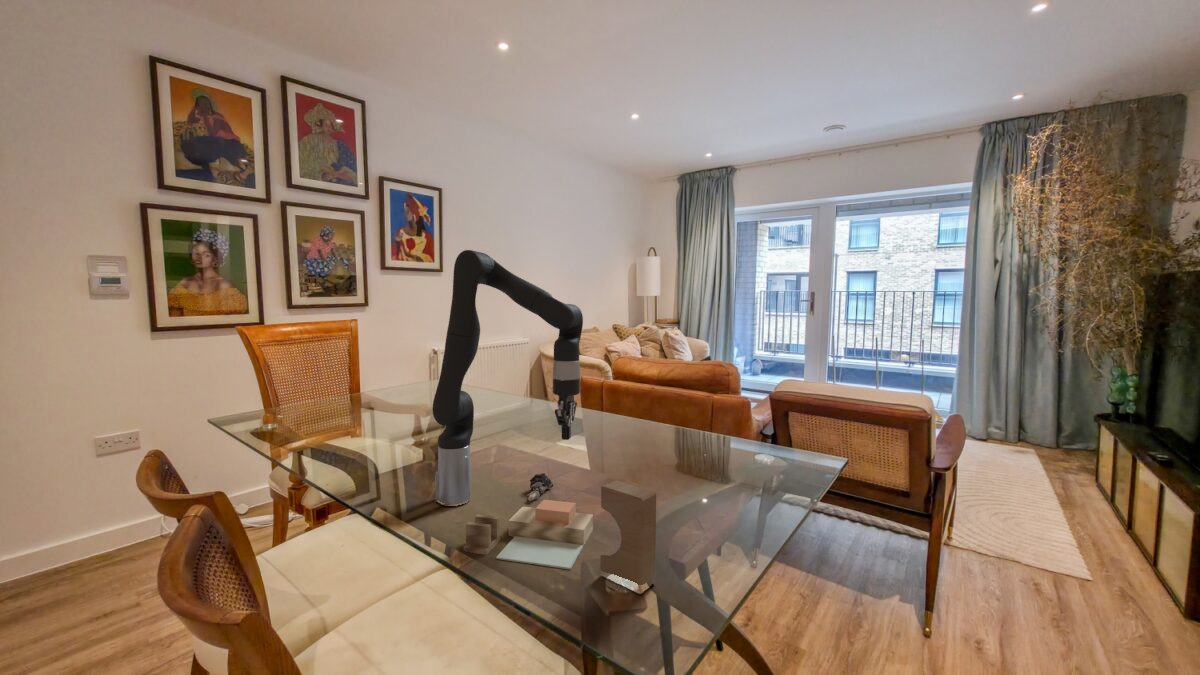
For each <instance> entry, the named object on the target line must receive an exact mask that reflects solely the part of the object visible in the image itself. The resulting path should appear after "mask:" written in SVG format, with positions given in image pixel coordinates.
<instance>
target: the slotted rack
mask: <svg viewBox="0 0 1200 675" xmlns="http://www.w3.org/2000/svg"><path fill="white" fill-rule="evenodd" d="M502 538H503V537H502V534H501V533H500V516H497V515H496V516H495V515H486V514H479V513H478V514H476V515H475V516H474V522H472V521H468V522H467V523H465V545H463V552H464V551H465V552H464V553H471V554H479V555H484V556H487V555H488V554H489V553H491V551H492V550H493V549H494V547H495V546H496V545H498V544H499V543H500V541H502Z"/></svg>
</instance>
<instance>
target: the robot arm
mask: <svg viewBox="0 0 1200 675" xmlns="http://www.w3.org/2000/svg"><path fill="white" fill-rule="evenodd" d="M479 285H485V286H488V287H491V288H493V289H496V290H498V291H500V292H502V293H503V294H505V295H506V296H508V297H509V299H511V301H513V302H515V303H516V304H517V305H518V306H520V307H522V308H523V309H525V310H527V311H529V312H531V313H533V314H534V315H536V316H538V317H540V318H541V319H542V320H543V321H545V323H547V324H549V325H550V326H552V327H553V328H555V329H557V330H559V331H558V336H557V337H558V338H557V339H556V340H555V341H554V344H553V365H552V394H553V395H555V396H558V401H557V404H556V405H557V409H554V414H555V417H556V422H557V424H558V426H560V427H561V439H562V440H564V441H569V440H570V439H571V438H572V432H571V431H572V427H571V426H572V425H573V422H574V420H575V415H576V410H577V406H578V403H577V402H578V401H576V400H575V396H577V395H579V394H580V393H581V364H580V340H581V337H582V332H583V327H584V326H583V324H584V316H583V313H582V310H581V309H580V307H579V306H577V305H576V304H571V303H564V302H562V301H560V300H558V299H556V298H554V297H553V295H552V294H551V293H549V292H548V291H546V290H544V289H543V288H541V287H538V285H535V284H533V283H531V282H530V281H527V280H525V279H523V278H521V277H520V276H518V275H515V274H514V273H513V272H511V271H510V270H508V269H507V268H505V267H504V266H503V265H501V264H500V263H499V262H497V261H496V260H495V259H493V257H491V256H490V255H488V254H487V253H484V252H480V251H476V250H473V249H472V250H471V249H465V250H462V251H461V252H460V253H459V254H458V255H457V257H456V259H455V262H454V266H453V279H452V294H451V295H452V296H451V304H450V312H449V319H448V326H447V330H446V337H445V343H444V344H445V345H444V353H443V359H442V362H441V369H440V375H439V379H438V383H437V387H436V390H435V394H434V398H433V403H432V408H431V409H432V416H433V418H434V420H435V421H436V423H437V424H439V425H440V426H445V428H444V430H443V431H442V432H441V433H440V434H439V436H438V437H437V438H438V439H437V440H438V441H437V459H438V460H437V461H438V462H437V463H438V465H437V466H438V468H437V469H438V470H437V471H435V478H434V480H435V500H436V499H437V500H439V501H440V502H442V503H445V504H449V505H453V504H454V505H455V504H459V503H463V502H465V501H467V500H469V499H470V500H471V495H472V494H471V439H472V436H473V432H474V416H475V415H474V412H475V411H474V410H475V408H474V402H473V399H472V398H473V397H471V395H470V394H469V393H468V392H466V391H464V390H462V386H463V382H464V380H465V379H464V378H465V376H466V374H467V372H468V370H469V368H470V367H471V365H472V363H473V361H474V360H475V357H476V355H477V352H478V348H479V342H480V335H481V324H480V320H479V316H478V311H477V305H476V298H477V297H476V296H477V292H478V287H479Z"/></svg>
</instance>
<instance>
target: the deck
mask: <svg viewBox="0 0 1200 675" xmlns="http://www.w3.org/2000/svg"><path fill="white" fill-rule="evenodd" d="M535 508H536V507H530V506H521V508H520V509H518V510H517V511H516V513H514V515H512V517H511V518H509V519H508V536H509V537H513V538H514V537H515V536H518V537H525V538H533V539H541V540H548V541H556V542H563V543H571V544H579V545H583V547H584V546H585V544H586V543H587V541H588V539H589V538H590V535H591V533H592V532H593V530H594V514H592V513H584V512H576V514H575V516H574V517H573V519H572V520H571V522H570V523H569V524H564V523H555V522H547V521H539V520H535Z"/></svg>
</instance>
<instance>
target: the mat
mask: <svg viewBox="0 0 1200 675" xmlns="http://www.w3.org/2000/svg"><path fill="white" fill-rule="evenodd" d="M583 548H584V546H583V545H579V544H571V543H563V542H556V541H548V540H541V539H533V538H525V537H518V536H515V537H514V536H513V538H512V539H511V540H510V541H509V542H508V544H506V546H504V548H503V549H502V550H501V551H500V553H499V554H497V556H496V558H495V559H497V560H502V561H509V562H515V563H516V562H517V563H522V564H530V565H536V566H537V565H538V566H542V567H543V566H544V567H550V568H556V569H565V570H571V569H572V568H573V566H574V564H575V562H576V560H577V559H578V557H579V555H580V553H581V551H582V550H583Z"/></svg>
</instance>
